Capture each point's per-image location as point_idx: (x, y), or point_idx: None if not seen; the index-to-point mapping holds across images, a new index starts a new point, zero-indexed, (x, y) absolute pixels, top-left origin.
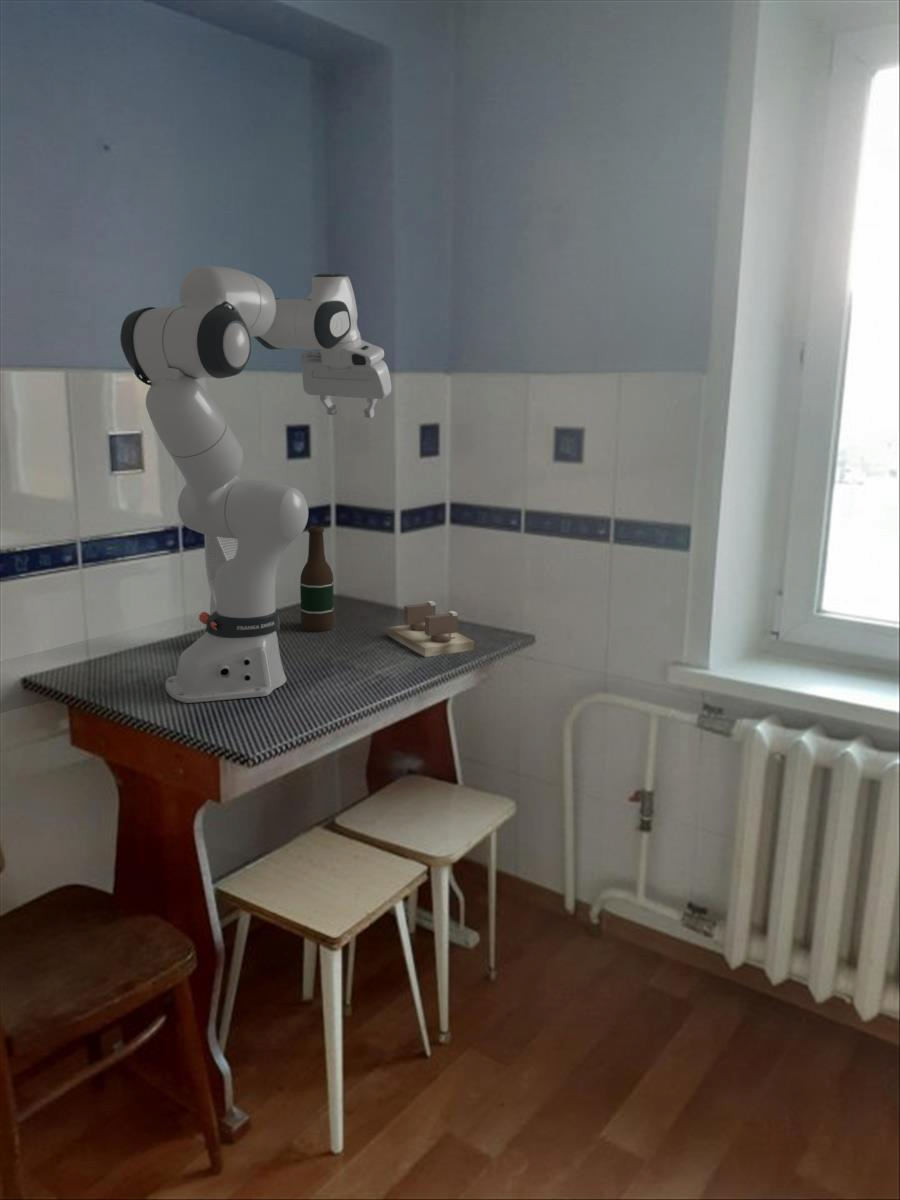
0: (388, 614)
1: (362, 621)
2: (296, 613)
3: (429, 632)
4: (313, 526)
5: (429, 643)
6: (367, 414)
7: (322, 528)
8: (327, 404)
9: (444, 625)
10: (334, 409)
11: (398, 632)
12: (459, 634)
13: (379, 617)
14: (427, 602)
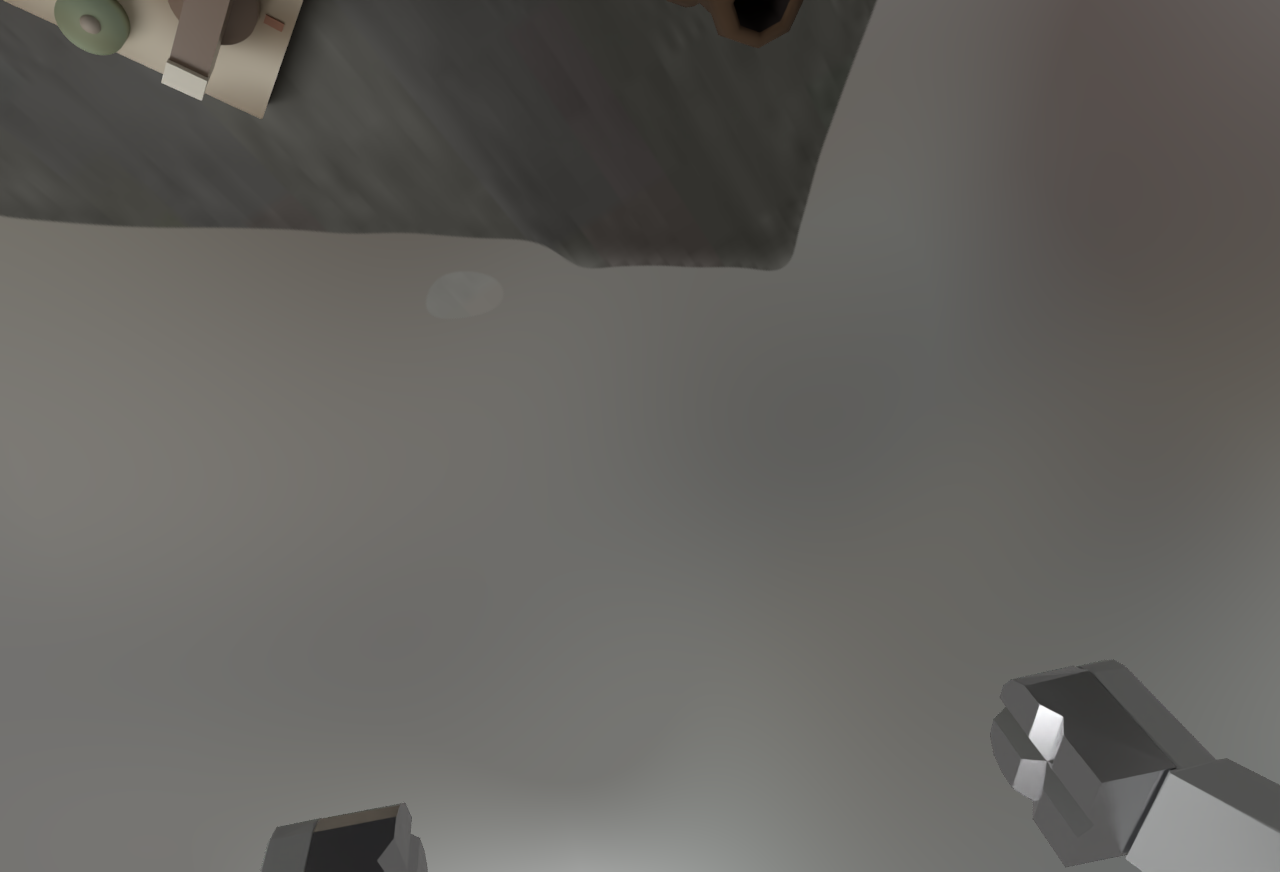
0: (523, 176)
1: (542, 51)
2: None
3: None
4: (785, 10)
5: None
6: (321, 867)
7: (717, 5)
8: (1229, 827)
9: None
10: (1044, 780)
11: None
12: (22, 4)
13: (524, 130)
14: (202, 77)
